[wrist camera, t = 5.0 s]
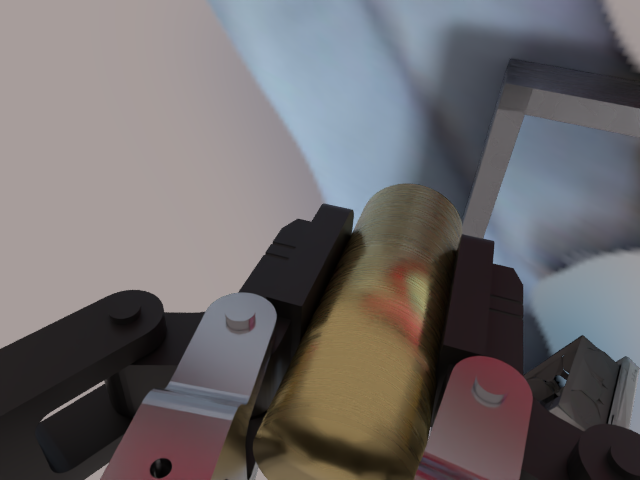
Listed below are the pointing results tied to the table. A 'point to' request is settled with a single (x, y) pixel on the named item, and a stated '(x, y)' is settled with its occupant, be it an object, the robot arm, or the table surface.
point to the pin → (369, 349)
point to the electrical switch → (586, 386)
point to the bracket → (550, 103)
